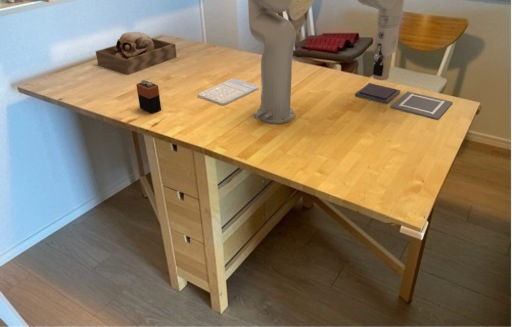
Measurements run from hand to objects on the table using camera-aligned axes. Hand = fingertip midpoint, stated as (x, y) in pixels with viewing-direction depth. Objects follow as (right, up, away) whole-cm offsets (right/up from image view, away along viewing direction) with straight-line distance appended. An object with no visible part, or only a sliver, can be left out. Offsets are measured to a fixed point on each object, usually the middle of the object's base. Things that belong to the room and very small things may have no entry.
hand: (381, 72), depth 153 cm
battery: (-80, -14, -5) cm, 81 cm away
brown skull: (-97, +12, +36) cm, 105 cm away
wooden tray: (-96, +13, +38) cm, 104 cm away
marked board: (+13, -12, -4) cm, 18 cm away
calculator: (-54, -7, +7) cm, 55 cm away
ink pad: (0, -7, +4) cm, 8 cm away
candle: (0, -2, +1) cm, 2 cm away
